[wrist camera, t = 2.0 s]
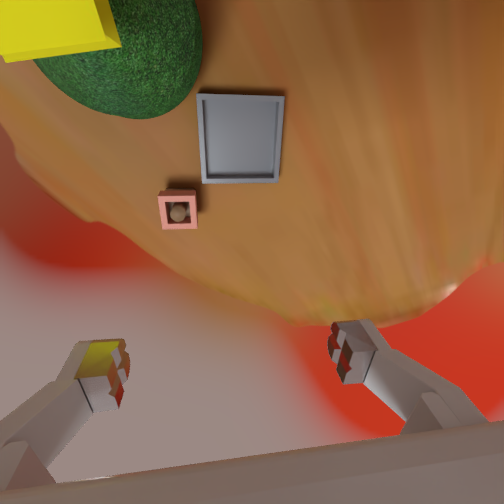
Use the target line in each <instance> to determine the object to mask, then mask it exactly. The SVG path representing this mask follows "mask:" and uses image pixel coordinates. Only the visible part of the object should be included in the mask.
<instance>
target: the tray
mask: <svg viewBox="0 0 504 504" xmlns="http://www.w3.org/2000/svg"><path fill="white" fill-rule="evenodd" d="M196 98H197V113H198V128H199V144H200V159H201V174H202V183H278V178H279V165H280V152H281V138H282V125H283V111H284V98H285V96H259V95H227V94H196Z"/></svg>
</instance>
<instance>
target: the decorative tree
mask: <svg viewBox="0 0 504 504" xmlns="http://www.w3.org/2000/svg"><path fill="white" fill-rule="evenodd" d="M202 47H203V43H202V29H201V22H200V17H199V13H198V10H197V6H196V3H195V0H0V55H2V56H3V58H4V60H5V62H6V63H7V62H15V61H22V60H30V59H33V61H34V62H35V63H36V65H37V66H38V67H39V68H40V70H41V71H42V72H43V73H44V74H45V75H46V77H47V78H48V79H49V80H50V81H51V82H52V83H53V84H55V85H56V86H57V87H58V88H59V89H60V90H61V91H63V92H64V93H65V94H67V95H68V96H69V97H71V98H72V99H74V100H75V101H77V102H79V103H80V104H82V105H84V106H86V107H88V108H91V109H93V110H96V111H98V112H102V113H105V114H109V115H115V116H121V117H125V118H131V119H149V118H154V117H158V116H161V115H163V114H165V113H167V112H169V111H171V110H172V109H174V108H175V107H176V106H178V105H179V104H180V103H181V102H182V101H183V100H184V99H185V98H186V96H187V95H188V94H189V92H190V90H191V89H192V87H193V85H194V83H195V81H196V78H197V76H198V73H199V69H200V65H201V59H202Z"/></svg>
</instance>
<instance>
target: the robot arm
mask: <svg viewBox="0 0 504 504" xmlns="http://www.w3.org/2000/svg"><path fill="white" fill-rule="evenodd" d="M331 331H332V334H331V335H330V336H329V337H328V341H327V346H328V352H329V355H330V357H331V359H332V361H334V362H335V363H336V364H337V368H336V370H337V373H338V375H339V377H340V379H341V381H342V383H343V384H353V383H364V385H366V386H367V387H368V388H369V389H370V390H371V391H372V392H373V393H374V394H376V395H377V396H378V397H379V398H380V399H381V400H382V401H383V402H384V403H386V404H387V405H388V406H389V407H390V408H391V409H392V410H393V411H395V412H396V413H397V414H398V415H399V416H400V417H401V418H402V419H403V420H405V421H406V423H405V425H404V427H403V429H402V430H401V433H400V435H397V436H389V437H382V438H376V439H368V440H362V441H354V442H347V443H340V444H333V445H326V446H318V447H312V448H304V449H297V450H290V451H282V452H276V453H269V454H262V455H254V456H248V457H240V458H234V459H226V460H219V461H212V462H205V463H197V464H190V465H184V466H176V467H169V468H162V469H156V470H148V471H141V472H134V473H126V474H120V475H112V476H105V477H98V478H91V479H84V480H77V481H70V482H63V483H56V482H55V480H54V478H53V477H52V476H51V474H50V473H49V472H48V470H47V469H46V468H47V467H48V466H49V465H50V463H51V462H52V461H53V460H54V459H55V458H56V457H57V455H58V454H59V453H60V452H61V451H62V450H63V448H64V447H65V446H66V445H67V444H68V443H69V442H70V440H71V439H72V438H73V437H74V436H75V434H76V433H77V432H78V431H79V430H80V429H81V428H82V426H83V425H84V424H85V423H86V422H87V421H88V419H89V418H90V417H91V416H92V415H93V413H94V412H101V411H109V410H116V409H119V407H120V404H121V400H122V397H123V393H124V389H123V386H122V385H123V384H124V383H125V382H126V381H127V380H128V376H129V372H130V357H129V354H128V353H127V352H125V348H126V343H125V340H124V339H104V340H91V341H79V342H78V343H76V344H75V346H74V348H73V350H72V351H71V353H70V355H69V357H68V359H67V361H66V362H65V365H64V366H63V368H62V370H61V372H60V373H59V375H58V377H57V379H56V381H54V382H50V383H48V384H47V385H46V386H44V387H43V388H42V389H41V390H39V391H38V392H37V393H36V394H34V395H33V396H32V397H30V398H29V399H28V400H27V401H25V402H24V403H23V404H21V405H20V406H19V407H18V408H16V409H15V410H14V411H12V412H11V413H10V414H9V415H7V416H6V417H5V418H3V419H2V420H1V421H0V504H504V420H503V421H496V422H489V421H488V420H487V419H486V418H485V417H484V416H483V414H482V413H481V412H480V411H479V410H478V409H477V407H476V406H475V405H474V404H473V403H472V402H471V400H470V399H469V398H468V397H467V396H466V395H465V393H464V392H463V391H462V390H461V389H460V388H459V387H457V386H456V385H454V384H452V383H451V382H449V381H448V380H446V379H444V378H442V377H441V376H439V375H437V374H436V373H434V372H432V371H431V370H429V369H427V368H426V367H424V366H423V365H421V364H419V363H418V362H416V361H414V360H413V359H411V358H409V357H408V356H406V355H404V354H403V353H401V352H399V351H398V350H396V349H391V348H390V346H389V345H388V343H387V342H386V341H385V339H384V338H383V336H382V335H381V334H380V332H379V331H378V330H377V328H376V327H375V325H374V324H373V323H372V321H371V320H369V319H360V320H349V321H337V322H333V323H332V324H331Z"/></svg>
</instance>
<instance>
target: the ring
mask: <svg viewBox="0 0 504 504" xmlns="http://www.w3.org/2000/svg"><path fill="white" fill-rule="evenodd" d="M158 202H159V209H160V215H161V222H162V228H163V229H194V228H198V214H197V201H196V190H181V191H160V193H159V195H158ZM168 202H189V205H190V216H191V217H185V218H184V220H182V221H180V222H176V221H174V220H173V219H172V218H171V217H170V213H169V206H168Z"/></svg>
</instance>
